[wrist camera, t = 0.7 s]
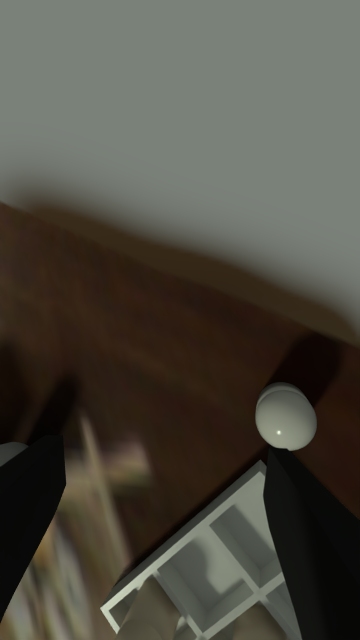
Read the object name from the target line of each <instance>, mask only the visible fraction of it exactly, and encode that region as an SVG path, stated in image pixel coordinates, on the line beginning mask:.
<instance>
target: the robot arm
mask: <svg viewBox="0 0 360 640" xmlns="http://www.w3.org/2000/svg"><path fill="white" fill-rule="evenodd" d="M65 486H66V475H65V461H64V446H63V436H58V435H45V436H43V437H42V438H40V439H39V440H37V441H36V442H34V443H33V444H31V445H30V446H29V447H27V448H26V449H24V450H23V451H22V452H20V453H19V454H17V455H16V456H15V457H13V458H12V459H10V460H9V461H7V462H6V463H5V464H3V465H2V466H0V623H1V620H2V618H3V616H4V613H5V611H6V609H7V607H8V605H9V603H10V601H11V599H12V596H13V594H14V592H15V590H16V588H17V586H18V585H19V583H20V581H21V579H22V577H23V575H24V573H25V571H26V569H27V567H28V565H29V563H30V561H31V560H32V558H33V556H34V554H35V552H36V550H37V548H38V546H39V544H40V542H41V540H42V538H43V536H44V535H45V533H46V531H47V529H48V527H49V525H50V523H51V521H52V519H53V517H54V515H55V512H56V510H57V507H58V505H59V502H60V500H61V497H62V494H63V491H64V489H65ZM263 500H264V506H265V511H266V516H267V521H268V526H269V530H270V533H271V537H272V540H273V543H274V547H275V550H276V553H277V556H278V560H279V563H280V566H281V569H282V573H283V576H284V579H285V582H286V585H287V589H288V592H289V595H290V598H291V601H292V605H293V608H294V611H295V615H296V618H297V622H298V626H299V629H300V633H301V638H302V640H360V520H359V519H358V518H357V517H355V516H354V515H353V514H352V513H351V512H350V511H349V510H348V509H347V508H346V507H344V506H343V505H342V504H341V503H340V502H339V501H338V500H337V499H336V498H335V497H334V496H333V495H332V494H331V493H330V492H329V491H328V490H327V489H326V488H325V487H324V486H323V485H322V484H321V483H320V482H319V481H318V480H317V479H316V478H315V477H314V476H313V475H312V474H311V473H310V472H309V471H308V470H307V469H306V468H305V467H304V465H303V464H302V463H301V462H300V461H299V460H298V459H297V458H296V457H295V456H294V455H293V454H292V453H291V452H290V451H289V450H288V449H287V448H272V447H269V453H268V460H267V468H266V475H265V483H264V490H263Z"/></svg>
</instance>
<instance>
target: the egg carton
mask: <svg viewBox="0 0 360 640" xmlns="http://www.w3.org/2000/svg"><path fill="white" fill-rule="evenodd" d="M266 468H267V466H266V465H265V464H264V463H263V462H262V461H261V460H259V461H258V462H257V463H256V464H255V465H253V466H252V467H251V468H250V469H249V470H248V471H247V472H245V473H244V474H243V475H242V476H241V477H240V478H238V479H237V480H236V481H235V482H234V483H233V484H232V485H230V486H229V487H228V488H227V489H226V490H225V491H223V492H222V493H221V494H220V495H219V496H218V497H217V498H215V499H214V500H213V501H212V502H211V503H210V504H209V505H207V506H206V507H205V508H204V509H203V510H202V511H200V512H199V513H198V514H197V515H196V516H195V517H194V518H192V519H191V520H190V521H189V522H188V523H187V524H185V525H184V526H183V527H182V528H181V529H180V530H179V531H177V532H176V533H175V534H174V535H173V536H172V537H170V538H169V539H168V540H167V541H166V542H165V543H164V544H162V545H161V546H160V547H159V548H158V549H157V550H155V551H154V552H153V553H152V554H151V555H150V556H149V557H147V558H146V559H145V560H144V561H143V562H142V563H140V564H139V565H138V566H137V567H136V568H135V569H134V570H132V571H131V572H130V573H129V574H128V575H127V576H125V577H124V578H123V579H122V580H121V581H120V582H119V583H117V584H116V585H115V586H114V587H113V588H112V590H111V592H110V593H109V595H108V596H107V598H106V600H105V601H104V603H103V605H102V606H101V608H100V609H101V610H102V612H103V613H104V615H105V617H106V618H107V620H108V621H109V623H110V624H111V626H112V627H113V629H114V630H115V632H116V633H117V636H116V639H115V640H302V638H301V633H300V629H299V626H298V622H297V618H296V615H295V611H294V608H293V605H292V601H291V598H290V595H289V592H288V589H287V585H286V582H285V579H284V576H283V573H282V569H281V566H280V563H279V560H278V556H277V553H276V550H275V547H274V543H273V540H272V537H271V533H270V530H269V526H268V521H267V516H266V511H265V506H264V500H263V490H264V483H265V475H266Z"/></svg>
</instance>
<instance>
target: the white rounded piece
mask: <svg viewBox="0 0 360 640" xmlns="http://www.w3.org/2000/svg"><path fill="white" fill-rule="evenodd" d="M27 447H29V446H28V445H26V444H23V443H17V442H10V443H6V444H2V445H0V466H2V465H3V464H5V463H6V462H7V461H9V460H10V459H12V458H13V457H15V456H16V455H17V454H19V453H20V452H22V451H23V450H24V449H26V448H27Z"/></svg>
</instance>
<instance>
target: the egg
mask: <svg viewBox="0 0 360 640" xmlns="http://www.w3.org/2000/svg"><path fill="white" fill-rule="evenodd" d="M256 425H257V428H258V430H259V432H260V434H261V436H262V437H263V438H264V439H265V440H266V441H267V442H268V443H269V444H270V445H272V446H274V447H276V448H287V449H288V450H289V451H291V450H297V449H300V448H302V447H304V446H306V445H307V444H308V443H309V442H310V441H311V440H312V438H313V437H314V435H315V432H316V427H317V419H316V414H315V412H314V409H313V407H312V406H311V404H310V403H309V401H308V400H307V398H306V397H305V395H304V394H303V393H302V391H301V390H300V389H298V388H297V387H296V386H294V385H292V384H289V383H286V382H276V383H272V384H270V385H268V386H267V387H265V388H264V389H263V390H262V391H261V393H260V395H259V397H258V401H257V408H256Z"/></svg>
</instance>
